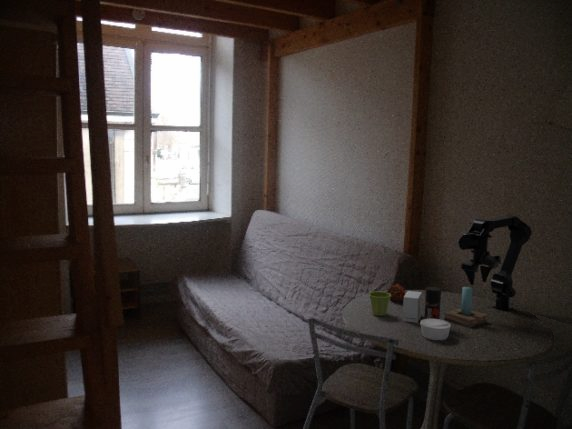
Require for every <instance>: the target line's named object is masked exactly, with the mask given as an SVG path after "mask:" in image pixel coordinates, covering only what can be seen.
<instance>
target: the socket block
mask: <svg viewBox="0 0 572 429" xmlns="http://www.w3.org/2000/svg"><path fill="white" fill-rule="evenodd" d="M444 321H446V322H451V323H454V324H458V325H460V326H464V327H467V328H473V327H475V326H478V325H479V326H480V325H482V324H485V323H487V322H488V315H487V314H486V313H482V312H478V311H474V310H471V316H469V317H467V316H464V315H461V307H460V308H456V309H452V310H450V311H445V312H444Z"/></svg>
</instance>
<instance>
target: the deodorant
mask: <svg viewBox="0 0 572 429" xmlns="http://www.w3.org/2000/svg"><path fill="white" fill-rule="evenodd" d="M441 297H442V289H441V288H440V287H436V286H427V287H425V301H424V302H425V303H424V319H439V320H441V317H440V316H441V302H442V301H441V299H442V298H441ZM424 319H423V320H424Z"/></svg>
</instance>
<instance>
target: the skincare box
mask: <svg viewBox="0 0 572 429" xmlns="http://www.w3.org/2000/svg"><path fill="white" fill-rule="evenodd" d="M402 301H403V304H402V305H403V306H402V307H403V308H402V310H403V312H402V321H403V322H408V323H416V324H418V323H420V322H419V321H421V318H422V311H423V309H422V306H423V302H422V301H423V292H422V291H413V290H407V292H405V296H404V300H402Z"/></svg>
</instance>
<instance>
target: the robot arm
mask: <svg viewBox="0 0 572 429" xmlns="http://www.w3.org/2000/svg"><path fill="white" fill-rule="evenodd" d="M505 227H507V229H508V230H509V240H510V242H509V246H508V249H507V251H506V255H505V256H504V259H503V262H502V256H500V255H495V256H494V255H490V254H491V252H490V251H489V250H488V246H489V245H488V244H489V239H490V238H491V239H492V238H493V236H492V235H491V234H490V233H492V232H494V231H495V229H500V228H505ZM532 233H533V230H532V229H531V226H529V225H528V224H527V223H525V222H524V221H523V220H522V219H520V217H519V216H516V215H512V214H511V215H510V214H509V215H505V216H501V217H496V218H495V217H494V218H491V219H485V218H475V219H474V220H473V222H472V223H471V225H470V226H469V228H468V230H467V232H466V233H462V236H461V237H460V238H459V239H458V243H457V244H458V247H459V248H460V249H461V250H463V251H467V250H470V253H472V258H471V259H470V261H464V262H462V263H461V264H460V268H461V269H462V270H463V271H464V273H465V276H466V277H467V279H468V280H467V281H468V282H469V284H470V286H474V283H475V280H476V274H477V273H478V272H479V270H478V269H479V268H480V275H481V280H482V282H483V283H486V281H487V279H488V276H490V275H489V274H490V273H491V270H493V269H497V268H498V267H499V265H500V264H501V267H500V269H499V271H498V272H497V273H496V272H494V273H493V274H492V278H491V280H490V287H491V292H492V294H495V295H496V297H495V305H492V306H491V307H492V308H494V309H498V310H502V311H508V310H511V309H513V306H510V303H511V298H513V297H515V296H516V293H517V292H516V290H515V289H514V287H513V283H514V282H513V277H512V275H513V272H514V268H515V266H516V263H517V261H518V258H519V257H520V256H519V255H520V253H521V250H522V247H523V246H524V245H525V244H527V242H529V240H530V238H531V236H532V235H533V234H532Z"/></svg>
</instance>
